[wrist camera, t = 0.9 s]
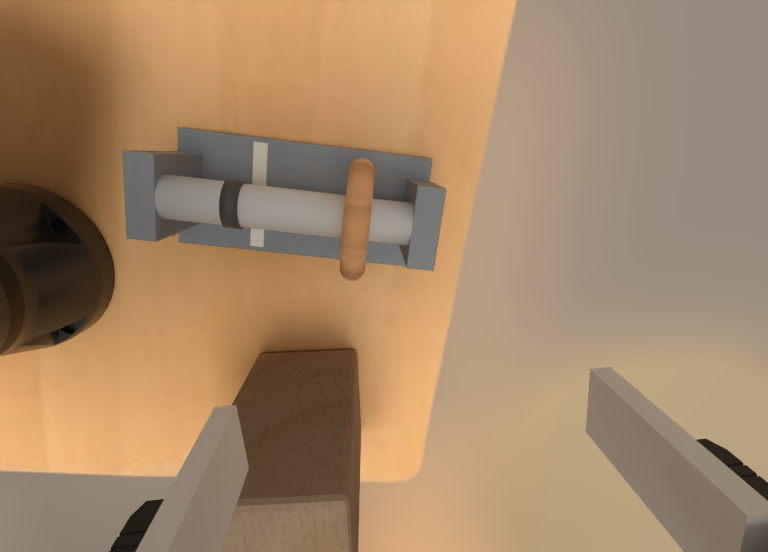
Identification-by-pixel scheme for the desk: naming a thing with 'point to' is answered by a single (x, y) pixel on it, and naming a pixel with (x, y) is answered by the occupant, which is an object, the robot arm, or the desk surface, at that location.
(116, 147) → the desk surface
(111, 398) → the desk surface
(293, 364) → the wooden block
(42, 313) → the robot arm
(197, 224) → the pipe stand
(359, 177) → the o-ring
